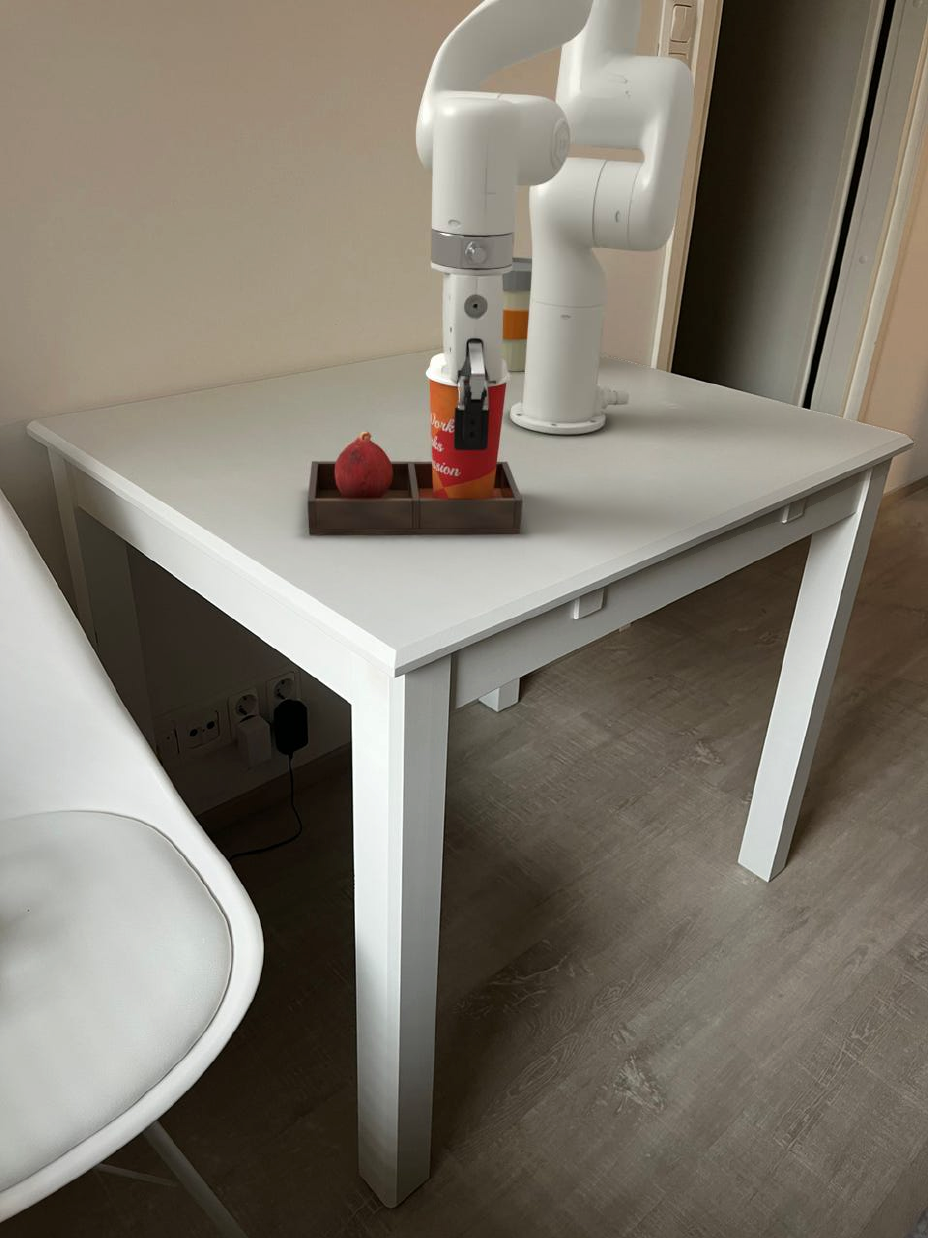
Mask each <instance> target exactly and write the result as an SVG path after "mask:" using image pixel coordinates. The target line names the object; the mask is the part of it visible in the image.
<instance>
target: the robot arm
mask: <svg viewBox="0 0 928 1238" xmlns="http://www.w3.org/2000/svg"><path fill="white" fill-rule="evenodd" d="M642 17H643V9H642V2H641V0H483V1H482V2H480V4H478V5H477V6H476V7H475V8H474V9H473V10H472V11H471V12H470V13H468V15H467V16H466V17H465V18H464V19H463V20H462V21H461V22H460V23H458V24H457V25H456V26H455V27H454V29H453V30H451V32H450V33H449V34H448V36H447V37H446V38H445V40H444V41H442V43H441V45H440V47H439V49H438V51H437V52H436V55H435V57H434V60H433V61H432V65H431V68H430V71H429V74H428V78H427V80H426V83H425V88H424V90H423V94H422V97H421V100H420V105H419V109H418V114H417V119H416V124H415V125H416V126H415V146H416V151H417V156H418V158H419V161H420V162H421V164H422V167H424V169H425V170H427V171H428V172H429V173H431V175H432V177H431V178H432V180H431V181H432V184H431V186H432V187H431V231H430V232H431V237H430V238H431V239H430V268H431V269H433V270H435V271H436V272H437V271H438V272H441V273H442V275H443V276H442V344H443V345H442V346H443V347H442V348H443V353H444V356H445V360H446V363H447V365H448V368H449V375H450V379H451V380H452V381H453V382H454V383H456V384H457V391H458V408H455V421H454V447H455V449H456V450H485V449H487V446H488V428H489V408H488V378H487V373H488V377H489V379H490V381H495V382H494V384H498V383H499V382H500V381H501V380H502V341H503V283H502V274H505V273H509V272H511V271H512V267H513V257H514V247H515V227H516V212H517V211H516V210H517V209H516V208H517V193H518V186H526V187H529V194H528V195H529V196H528V210H529V219H530V221H529V222H530V231H531V235H530V236H531V259H532V277H531V293H530V306H529V320H528V334H527V348H526V362H525V371H524V378H523V390H522V391H523V393H522V400H521V401H518V402H517V403H514V404H513V405H512V406H511V407H510V412H509V418H510V420H511V421H512V422H513V423H514V424H516V425H518V426H519V427H522V428H523V429H527V430H530V431H534V432H539V433H543V434H549V435H550V434H551V435H552V434H553V435H581V434H588V433H592V432H595V431H597V430H600V429H601V428H603V426H605V423H606V412H604V411H603V409H606V408H608V406H625V405H627V404H628V403H629V401H630V394H629V391H628V390H626V389H618V390H617V389H616V390H612V389H611V388H610V387H609V386H608V387H607V386H606V387H601V386H599V385H598V380H599V370H600V362H601V352H602V345H603V344H602V342H603V334H604V325H605V324H604V323H605V315H606V305H607V298H608V297H607V296H608V283H607V277H606V274H605V272H604V269H603V267H602V265H601V263H600V261H599V260H598V257H597V256H596V254H595V252H594V251H593V249H592V248H595V249H599V248H600V249H601V248H603V249H612V250H620V251H631V252H646V253H647V252H655V251H658V250H660V249H662V248H663V247H664V246H665V245H666V244H667V243H668V241H669V240H670V237H671V236H672V233H673V230H674V226H675V222H676V218H677V213H678V207H679V202H680V195H681V189H682V183H683V178H684V173H685V165H686V160H687V155H688V148H689V144H690V143H689V141H690V137H691V130H692V124H693V117H694V109H695V82H694V77H693V73H692V71H691V69H690V68H689V66H688V65H687V64H686V63H685V62H684V61H682V60H681V59H678V58H675V57H669V56H656V55H654V56H653V55H638V53H637V51H638V49H637V48H638V41H639V37H640V36H639V35H640V27H641V22H642ZM560 47H561V53H560V60H559V68H558V76H557V83H556V91H555V98H554V99H555V100H552V99H550V98H548V97H545V96H540V95H535V94H534V95H532V94H521V93H520V94H519V93H518V94H517V93H504V92H489V91H477V90H478V89H479V88H480V87H481V86H483V84H485V82H487V81H488V80H490V79H491V78H493V77H494V76H495V75H497V74H499V73H500V72H503V71H504V70H506V69H508V68H511V67H512V66H515V65H519V64H520V63H524V62H526V61H529V60H532V59H534V58H536V57H539V56H541V55H543V54H546V53H548V52H551V51H554V50H555V49H557V48H560ZM571 145H576V146H583V147H588V148H600V149H614V150H615V149H617V150H631V151H639V152H641V153H642V154H643V156H644V160H643V162H637V161H635V162H634V161H621V160H611V159H606V158H605V159H603V158H589V157H575V156H573V157H571V156H570V157H568V156H569V152H570V147H571ZM466 352H468V357H466ZM463 370H469V371H470V376H462V371H463ZM464 386H470V387H466V390H464Z"/></svg>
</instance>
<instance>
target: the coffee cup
mask: <svg viewBox="0 0 928 1238" xmlns="http://www.w3.org/2000/svg"><path fill="white" fill-rule="evenodd" d="M466 357H468V352H466ZM425 376H426V377H427V378H428V380H429V405H430V406H429V408H430V409H429V411H430V434H431V435H430V436H431V437H430V441H431V462H432V473H433V494H434V498H492V496H493V489H494V481H495V473H496V465H497V462H498V457H499V448H500V441H501V433H502V423H503V414H504V407H505V398H506V392H507V391H506V390H507V382H509V381H510V380H511V373H510V371H507V364H506V361H505V360H504V359H503V358H502V380H501V381H500V382H499V383H498V384H494V382H495V381H490V379H489V377H488V373H487V378H488V408H489V428H488V446H487V449H485V450H456V449H455V447H454V421H455V408H458V391H457V384H456V383H454V382H453V381H452V380H451V379H450V375H449V368H448V365H447V363H446V360H445V356H444V352H441V353H438V354H435V355H434V356H432V358H431V359H430V364H429V367H427V369H426V371H425ZM462 376H470V371H469V370H463V371H462ZM466 387H470V386H464V390H466Z"/></svg>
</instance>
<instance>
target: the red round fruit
mask: <svg viewBox="0 0 928 1238" xmlns="http://www.w3.org/2000/svg"><path fill="white" fill-rule="evenodd" d="M371 438H372V434H371V433H370V432H369V431H367V430H366V431H361V432H360V434H358V436H357V437H356V439H355V440H354V441H353V442H351V443H349V444H348V445H347V446H346V447H345V448H344V449H343V451H341V452H340V453H339V456H338V457H337V459H336V460H335V461H336V464H335V479H336V485H337V487H338V488H339V490H340V492H341V493H342V494H343V495H344V496H345V497H346V498H381V497H382V496H383V495H384V494H385V493H386V492H387V490H388V488H389V486H390V484H391V483H392V478H393V468H392V465H391V462H390V461H391V460H390V458H389V456H388V455H387V453H386V452H385V451H384V449H383V448H382V447H381V446H379V445H378V444H377V443H375V442H374V441H372V440H371Z"/></svg>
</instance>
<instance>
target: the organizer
mask: <svg viewBox="0 0 928 1238" xmlns="http://www.w3.org/2000/svg"><path fill="white" fill-rule="evenodd" d="M336 461H337V460H334V461H333V460H332V461H331V460H329V461H327V460H326V461H324V460H323V461H322V460H319V461H317V460H313V461H311V465H310V475H309V484H308V495H307V520H308V535H310V536H327V535H329V536H332V535H333V536H336V535H339V536H340V535H341V536H343V535H346V536H347V535H348V536H349V535H351V536H353V535H355V536H356V535H487V534H488V535H503V534H505V535H506V534H507V535H513V534H514V535H515V534H516V535H517V534H521V527H522V525H521V524H522V512H523V499H522V496H521V494H520V491H519V488H518V485H517V483H516V480H515V477H514V475H513V472H512V470H511V467H510V465H509V462H508V461H497V465H496V473H495V481H494V489H493V496H492V498H434V494H433V473H432V461H401V460H400V461H399V460H398V461H394V460H393V461H391V460H390V462H391V465H392V468H393V478H392V483H391V484H390V486H389V488H388V490H387V492H386V493H385V494H384V495H383V496H382V497H381V498H346V497H345V496H344V495H343V494H342V493H341V492H340V490H339V488H338V487H337V485H336V479H335V464H336Z"/></svg>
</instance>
